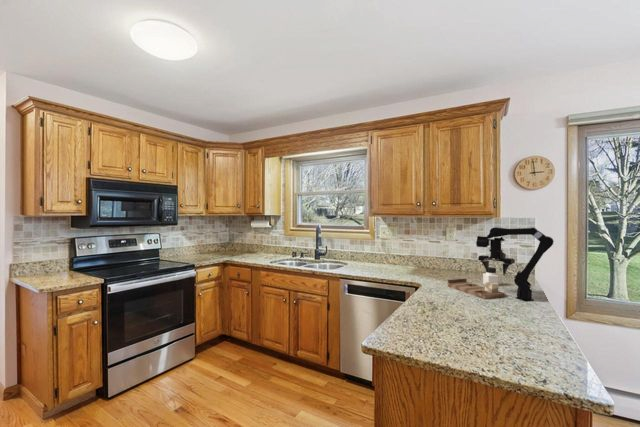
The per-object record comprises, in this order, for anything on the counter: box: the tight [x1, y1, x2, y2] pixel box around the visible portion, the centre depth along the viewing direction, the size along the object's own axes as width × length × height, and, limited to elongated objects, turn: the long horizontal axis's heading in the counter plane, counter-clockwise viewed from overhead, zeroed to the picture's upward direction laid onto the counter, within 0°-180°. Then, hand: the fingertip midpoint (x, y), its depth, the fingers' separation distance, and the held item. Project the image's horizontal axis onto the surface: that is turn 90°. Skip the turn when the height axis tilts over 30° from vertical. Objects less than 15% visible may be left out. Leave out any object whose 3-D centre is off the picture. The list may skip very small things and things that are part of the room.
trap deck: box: [447, 278, 506, 300], centre depth 188 cm, size 30×15×4 cm, turn 18°
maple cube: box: [484, 282, 499, 293], centre depth 180 cm, size 5×5×5 cm
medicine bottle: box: [482, 266, 500, 287], centre depth 206 cm, size 7×7×12 cm
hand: (495, 273), depth 181 cm, fingers open, 9 cm apart
